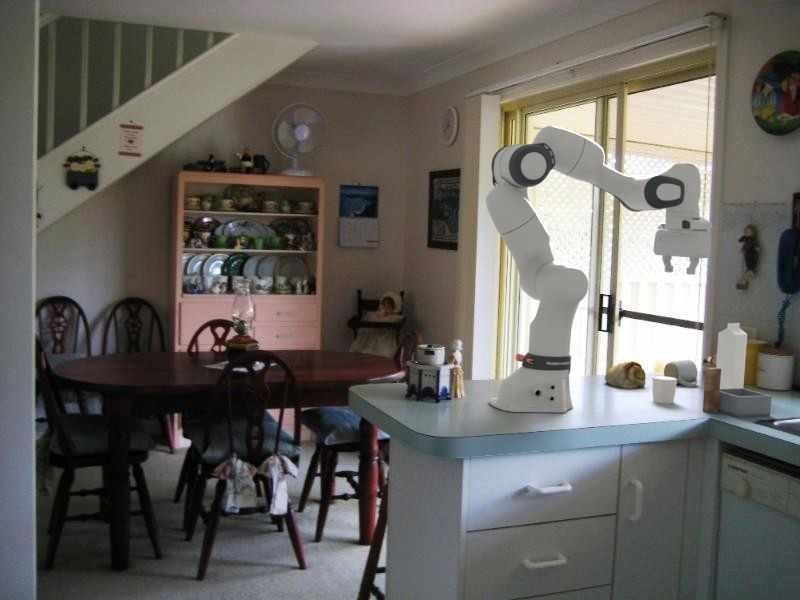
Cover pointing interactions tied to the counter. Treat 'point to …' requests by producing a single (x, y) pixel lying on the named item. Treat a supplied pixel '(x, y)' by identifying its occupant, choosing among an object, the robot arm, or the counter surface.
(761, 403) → the grey storage tray
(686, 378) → the ceramic mug
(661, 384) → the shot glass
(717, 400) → the brown wooden block
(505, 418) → the counter surface
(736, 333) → the milk
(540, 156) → the robot arm
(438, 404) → the counter surface
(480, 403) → the counter surface
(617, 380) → the pastry
